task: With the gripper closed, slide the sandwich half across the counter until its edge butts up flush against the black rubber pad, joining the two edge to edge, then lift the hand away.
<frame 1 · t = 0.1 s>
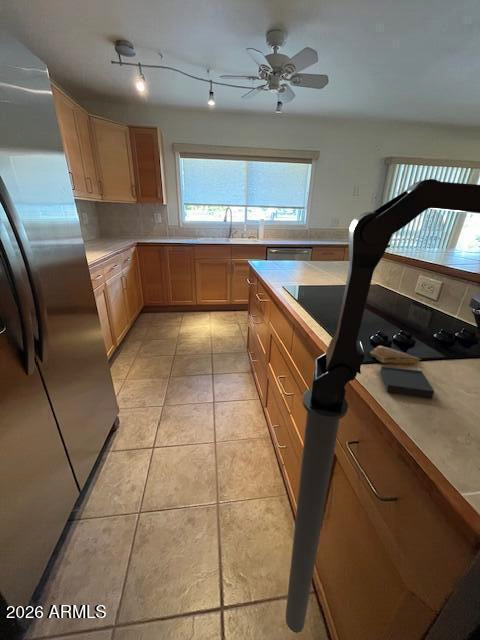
sandwich half: (390, 357, 74), on the counter
black pad: (403, 384, 62), on the counter
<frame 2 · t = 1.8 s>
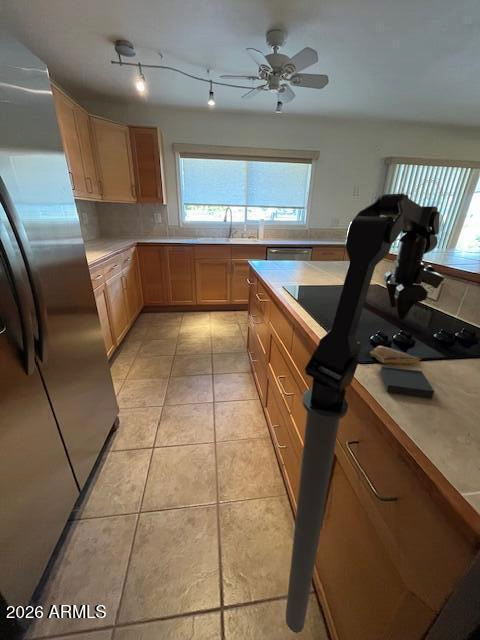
hand: (397, 312, 75), 11 cm above the counter, tool pointing down, fingers open, 9 cm apart
nothing on the counter moved.
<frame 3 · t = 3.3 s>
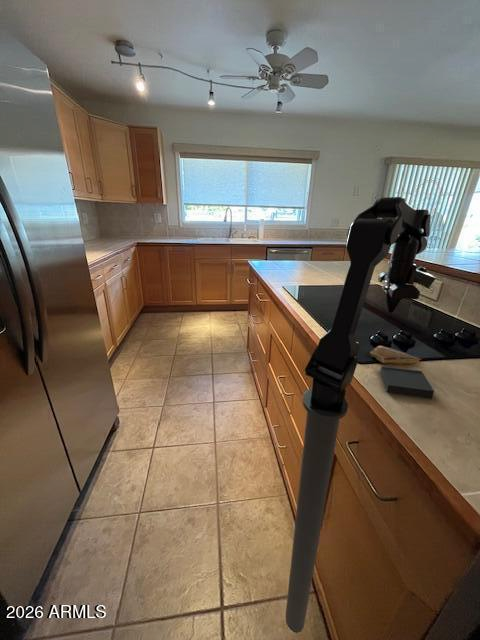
hand: (390, 312, 77), 10 cm above the counter, tool pointing down, fingers closed
nothing on the counter moved.
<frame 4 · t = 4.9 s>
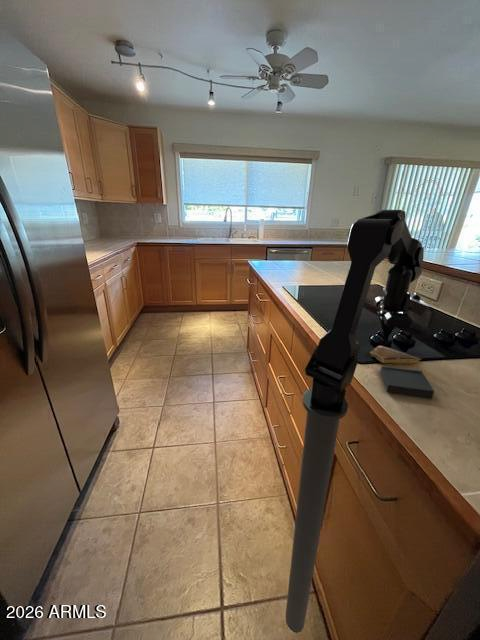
hand: (385, 336, 80), 2 cm above the counter, tool pointing down, fingers closed
nothing on the counter moved.
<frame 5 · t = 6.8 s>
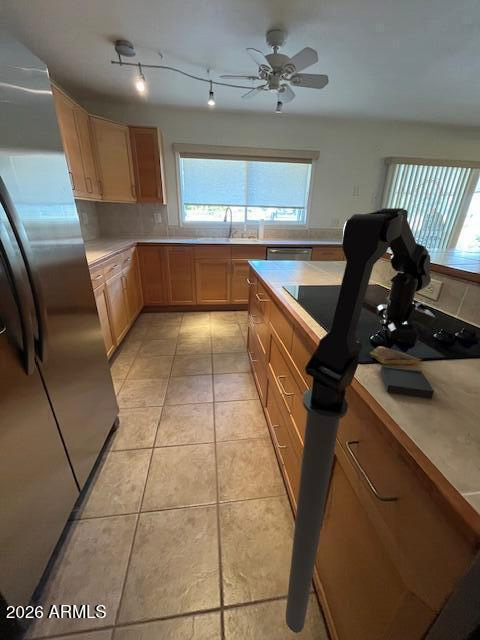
hand: (388, 347, 76), 1 cm above the counter, tool pointing down, fingers closed
sandwich half: (390, 357, 73), on the counter, touching gripper
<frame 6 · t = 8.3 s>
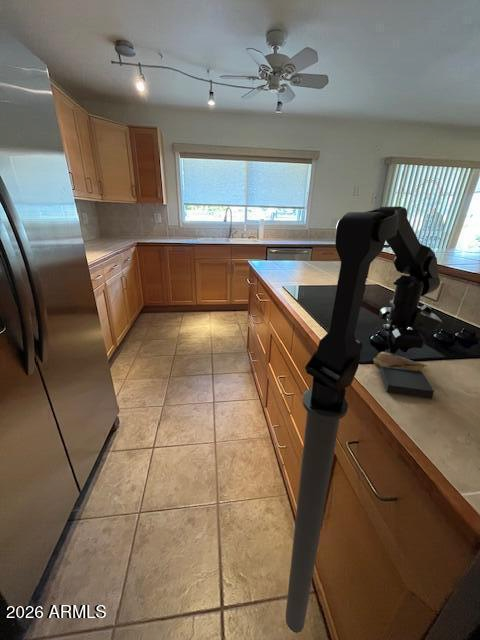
hand: (392, 352, 72), 2 cm above the counter, tool pointing down, fingers closed
sandwich half: (394, 363, 71), on the counter, touching gripper
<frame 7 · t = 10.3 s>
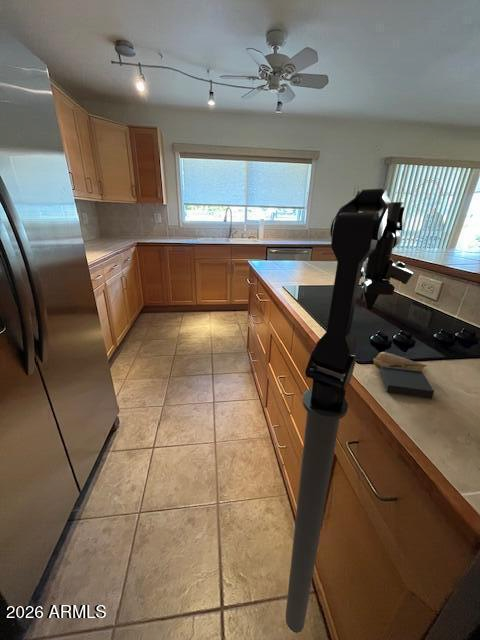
hand: (368, 308, 75), 12 cm above the counter, tool pointing down, fingers closed
sandwich half: (394, 363, 70), on the counter
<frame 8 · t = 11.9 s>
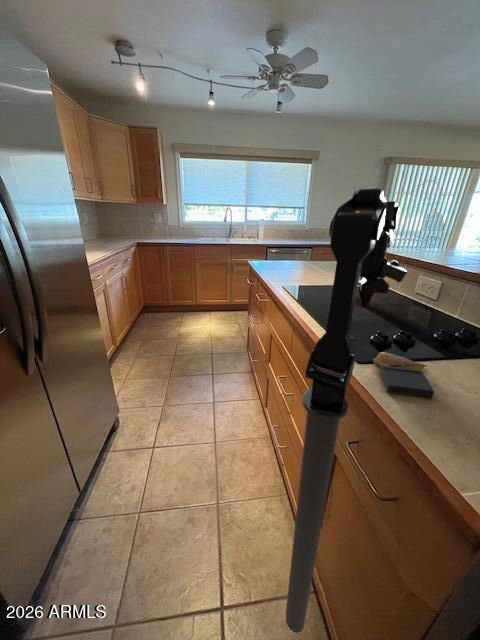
hand: (364, 307, 76), 12 cm above the counter, tool pointing down, fingers closed
nothing on the counter moved.
at the end: sandwich half 1.7 cm from the target spot, on the counter; sandwich half moved 3.5 cm from its start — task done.
